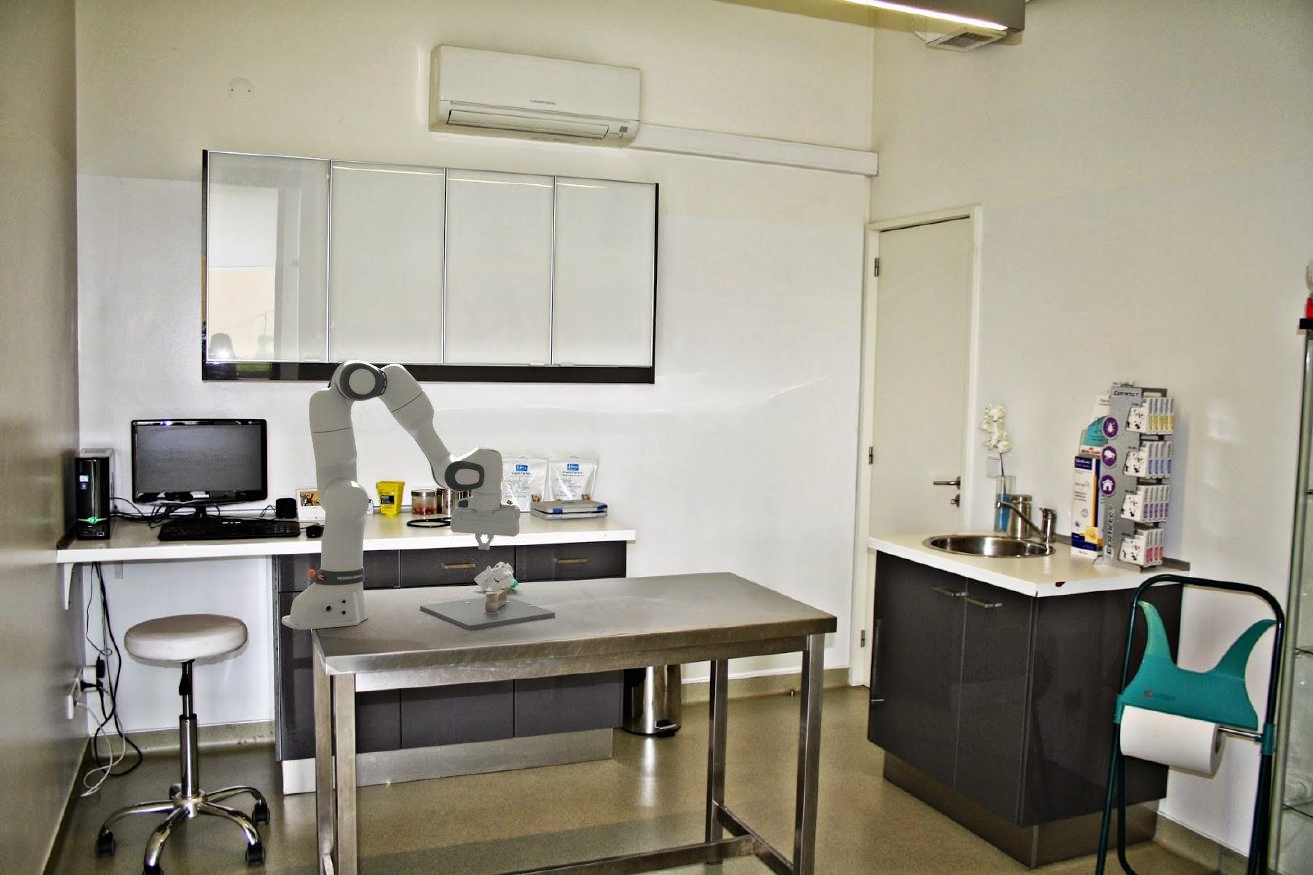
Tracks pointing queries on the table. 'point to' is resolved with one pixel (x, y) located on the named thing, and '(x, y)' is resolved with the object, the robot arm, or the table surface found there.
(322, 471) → the robot arm
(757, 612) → the table surface
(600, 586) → the table surface
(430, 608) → the board
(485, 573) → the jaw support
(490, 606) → the brown rectangular block
